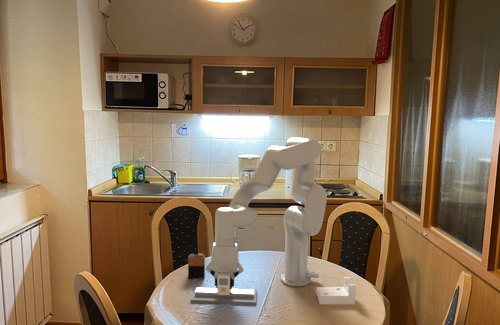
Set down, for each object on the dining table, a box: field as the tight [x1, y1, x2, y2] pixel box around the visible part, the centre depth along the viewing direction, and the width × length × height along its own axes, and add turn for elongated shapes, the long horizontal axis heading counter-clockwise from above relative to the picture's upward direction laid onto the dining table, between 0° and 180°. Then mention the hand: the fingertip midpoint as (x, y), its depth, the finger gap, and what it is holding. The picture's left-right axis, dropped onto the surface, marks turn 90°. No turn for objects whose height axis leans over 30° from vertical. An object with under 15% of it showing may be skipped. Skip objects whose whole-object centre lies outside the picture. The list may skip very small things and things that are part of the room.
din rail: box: [195, 287, 255, 298], centre depth 141 cm, size 22×4×2 cm, turn 87°
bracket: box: [315, 276, 357, 305], centre depth 141 cm, size 13×7×8 cm, turn 92°
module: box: [217, 271, 231, 295], centre depth 141 cm, size 4×8×7 cm, turn 177°
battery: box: [187, 252, 206, 280], centre depth 159 cm, size 4×7×10 cm, turn 96°
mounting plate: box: [190, 286, 258, 306], centre depth 142 cm, size 24×10×1 cm, turn 87°
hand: (224, 287), depth 141 cm, fingers closed on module, 4 cm apart
